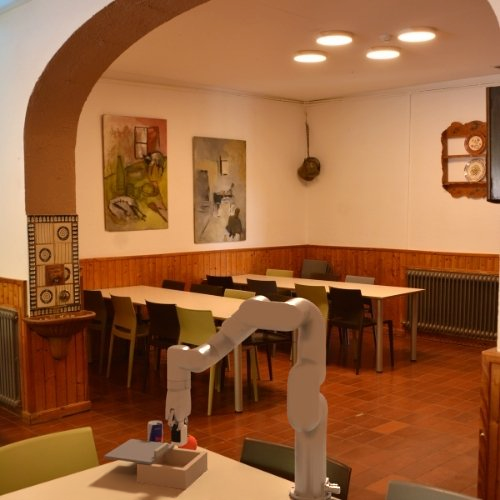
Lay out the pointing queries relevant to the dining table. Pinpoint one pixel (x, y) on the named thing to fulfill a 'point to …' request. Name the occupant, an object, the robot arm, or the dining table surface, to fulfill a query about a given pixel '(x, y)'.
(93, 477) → the dining table surface
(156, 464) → the mailer box
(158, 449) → the box lid
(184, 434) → the pepper shaker
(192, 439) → the clementine
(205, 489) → the dining table surface
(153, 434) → the energy drink
